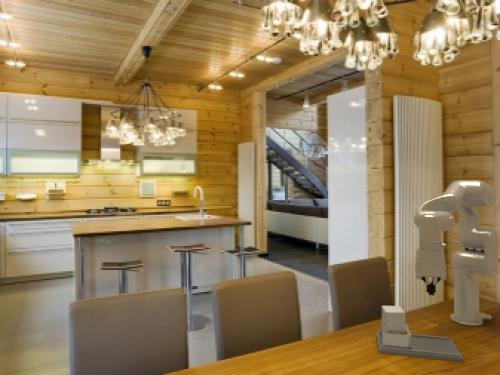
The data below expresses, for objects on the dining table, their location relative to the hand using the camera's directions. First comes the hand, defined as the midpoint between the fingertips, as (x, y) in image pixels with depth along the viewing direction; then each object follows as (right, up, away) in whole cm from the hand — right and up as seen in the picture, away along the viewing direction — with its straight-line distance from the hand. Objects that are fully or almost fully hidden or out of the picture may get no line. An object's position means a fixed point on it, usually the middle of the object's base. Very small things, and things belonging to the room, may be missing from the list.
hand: (431, 294), depth 137 cm
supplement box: (-13, -20, +4) cm, 24 cm away
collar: (-12, -19, +3) cm, 23 cm away
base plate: (-5, -21, +1) cm, 21 cm away
